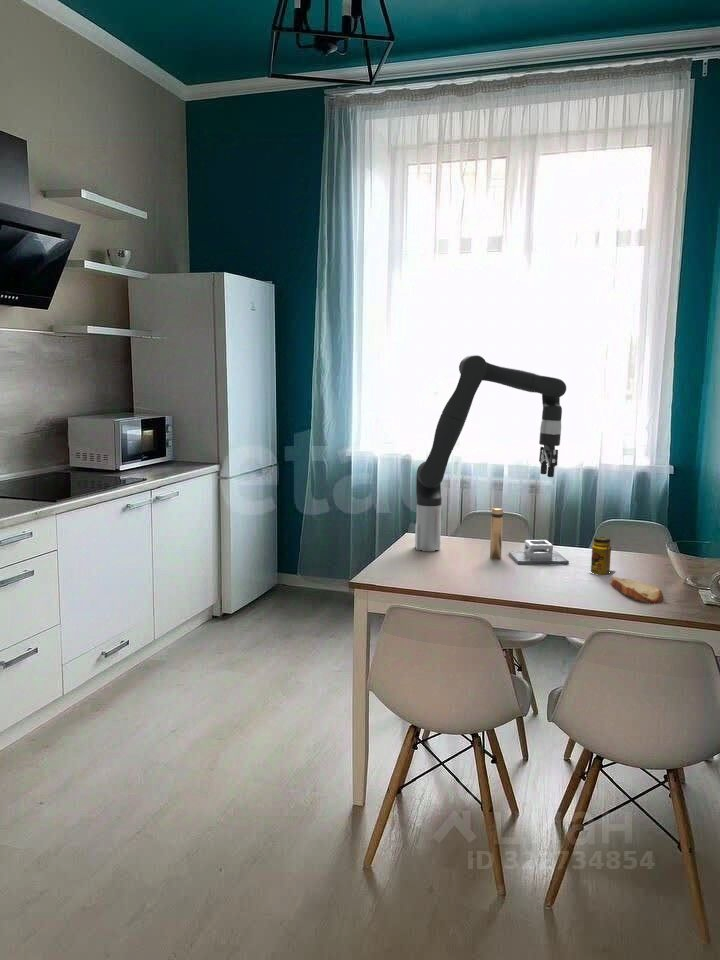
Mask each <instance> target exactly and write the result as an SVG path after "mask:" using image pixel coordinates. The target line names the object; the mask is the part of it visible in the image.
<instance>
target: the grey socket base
mask: <svg viewBox="0 0 720 960" xmlns="http://www.w3.org/2000/svg"><path fill="white" fill-rule="evenodd" d="M523 548H524V550H522V551H520V550H519V551H518V550H517V551H514V550H512V551H510V550H509V551H508V556H509V557H510V558H511V557H512V558H513V559H514V560H513V559H512V560H513V561H514V562H515V561H516V562H515V563H516V565H550V564H570V563H569V562H570V561H569V560H568V559H567V558H565V557H564V556H563V555H562V554H561V553H560V552H558V551H554V545H553V544H552V543H551V542H549V541H548V540H547V539H525V540H524V547H523Z"/></svg>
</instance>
